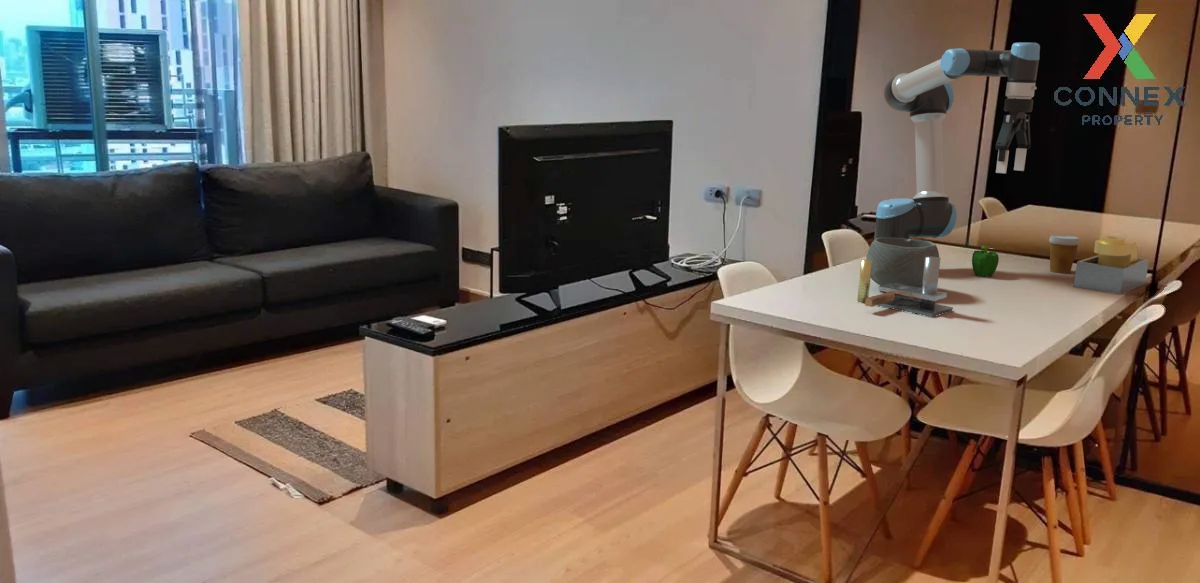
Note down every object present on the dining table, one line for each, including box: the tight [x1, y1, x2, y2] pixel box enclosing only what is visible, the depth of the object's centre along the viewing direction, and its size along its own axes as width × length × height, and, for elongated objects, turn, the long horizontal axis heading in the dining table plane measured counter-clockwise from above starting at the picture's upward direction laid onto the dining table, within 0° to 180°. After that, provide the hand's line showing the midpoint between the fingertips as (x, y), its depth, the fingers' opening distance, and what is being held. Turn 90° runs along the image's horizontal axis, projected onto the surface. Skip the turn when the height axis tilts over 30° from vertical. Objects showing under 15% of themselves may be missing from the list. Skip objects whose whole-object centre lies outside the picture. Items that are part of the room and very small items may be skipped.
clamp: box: [1093, 235, 1138, 268], centre depth 296 cm, size 20×9×16 cm, turn 134°
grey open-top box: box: [1073, 254, 1150, 295], centre depth 297 cm, size 14×24×8 cm, turn 134°
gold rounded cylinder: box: [856, 259, 872, 304], centre depth 264 cm, size 3×3×12 cm
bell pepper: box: [971, 245, 1000, 277], centre depth 307 cm, size 8×8×10 cm
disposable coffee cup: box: [1048, 234, 1081, 274], centre depth 316 cm, size 10×10×12 cm
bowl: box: [865, 237, 940, 288], centre depth 280 cm, size 21×21×15 cm
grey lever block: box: [864, 256, 954, 318], centre depth 255 cm, size 18×22×15 cm
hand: (1009, 171), depth 273 cm, fingers open, 13 cm apart
